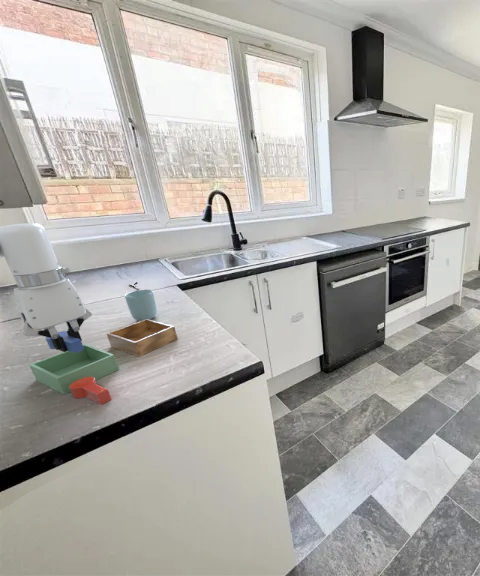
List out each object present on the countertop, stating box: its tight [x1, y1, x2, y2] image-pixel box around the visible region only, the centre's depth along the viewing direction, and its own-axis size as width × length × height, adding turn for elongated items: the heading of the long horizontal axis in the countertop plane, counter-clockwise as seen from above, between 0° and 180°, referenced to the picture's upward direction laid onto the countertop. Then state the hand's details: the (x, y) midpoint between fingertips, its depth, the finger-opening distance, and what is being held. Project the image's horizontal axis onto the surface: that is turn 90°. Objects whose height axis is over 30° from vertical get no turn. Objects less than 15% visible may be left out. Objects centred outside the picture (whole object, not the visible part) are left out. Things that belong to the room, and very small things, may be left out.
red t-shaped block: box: [69, 377, 112, 406], centre depth 71 cm, size 11×4×3 cm, turn 65°
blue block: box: [45, 330, 84, 353], centre depth 77 cm, size 11×4×3 cm, turn 66°
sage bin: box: [29, 343, 120, 395], centre depth 79 cm, size 11×14×4 cm
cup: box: [124, 289, 158, 322], centre depth 110 cm, size 8×8×10 cm
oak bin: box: [106, 319, 179, 358], centre depth 94 cm, size 11×14×4 cm
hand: (70, 347), depth 77 cm, fingers closed on blue block, 2 cm apart
